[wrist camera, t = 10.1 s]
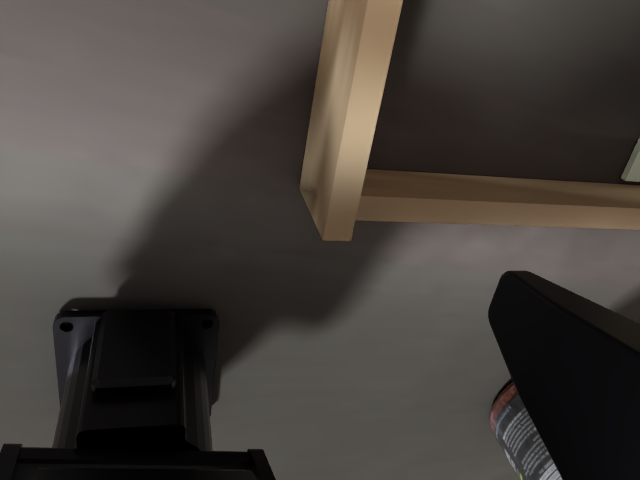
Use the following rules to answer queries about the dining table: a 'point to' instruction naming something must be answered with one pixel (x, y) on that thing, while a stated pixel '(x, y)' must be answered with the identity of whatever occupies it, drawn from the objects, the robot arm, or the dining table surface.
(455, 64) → the dining table surface
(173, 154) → the dining table surface
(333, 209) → the bay
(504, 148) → the dining table surface
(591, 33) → the dining table surface
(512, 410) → the supplement bottle
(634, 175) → the front pad
